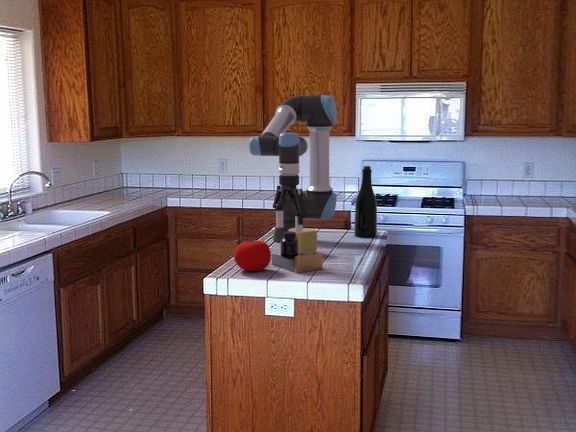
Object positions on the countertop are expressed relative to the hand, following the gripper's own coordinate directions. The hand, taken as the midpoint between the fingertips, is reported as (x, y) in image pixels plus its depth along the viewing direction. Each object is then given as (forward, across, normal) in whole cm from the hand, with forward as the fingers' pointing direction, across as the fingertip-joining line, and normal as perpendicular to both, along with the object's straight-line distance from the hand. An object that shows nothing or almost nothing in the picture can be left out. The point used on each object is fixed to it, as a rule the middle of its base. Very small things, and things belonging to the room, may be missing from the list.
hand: (289, 230), depth 259 cm
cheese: (+14, -14, +14) cm, 25 cm away
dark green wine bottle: (+15, -32, +63) cm, 72 cm away
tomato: (+13, +2, -18) cm, 22 cm away
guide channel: (+13, +6, 0) cm, 14 cm away
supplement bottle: (+13, +1, 0) cm, 13 cm away
